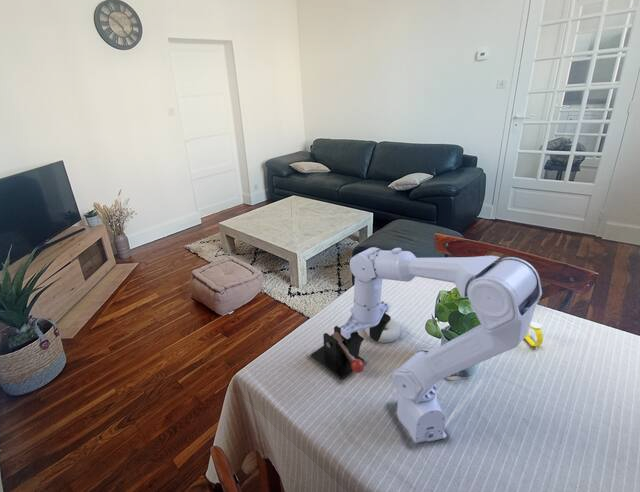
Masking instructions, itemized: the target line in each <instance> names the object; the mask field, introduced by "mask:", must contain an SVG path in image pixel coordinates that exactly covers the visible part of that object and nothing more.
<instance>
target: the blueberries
mask: <svg viewBox="0 0 640 492" xmlns="http://www.w3.org/2000/svg"><path fill="white" fill-rule="evenodd" d="M459 376H460V371H459V372H457V373H455V374H452V375H450V376H448V377H445V378H444V379H445V380H446V381H448V382H450V381H457V380H459V378H458V377H459Z"/></svg>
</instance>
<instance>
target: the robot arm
mask: <svg viewBox="0 0 640 492" xmlns="http://www.w3.org/2000/svg"><path fill="white" fill-rule="evenodd" d="M500 258H501V257H500V256H497V255H481V256H467V257H466V256H465V257H464V256H463V257H460V256H458V257H457V256H453V257H446V256H445V257H417V256H416V255H415V254H414V253H413V252H411V251H410V250H409V251H408V250H403V249H402V248H401V247H395V248H393V249H391V250H383V249H381V248H378V247H376V246H374V247H369V248H367V249H365V250H363V251H361V252H359V253H357V254H355V255H354V256H352V257H351V258H350V260H349V269H350V271H351V273H352V276H354V288H353V306H352V307H350V309H349V311H350V313H351V314H350V316H349V317H348V319H347V321H346V322H345V324H343V325H341V326H339V328H340V333H341V335H342V336H343V338H344V339H345V341H346V344H347V347H348V350H349V354H351V355H352V356H353V357H355V358H357V357H358V356H359V355H360V350H361V346H362V344H363V342H364V340H365V337H363V336H362V335H360V333H359V331H363V330H365V329H367V328H369V333H370V337H369V338H370V339H371V338H372V339H371V340H373V341H374V342H376V343H379V342H378V341H379V339H380V337H381V334H382V332H383V330H385V329H386V328H385V326H386V325H387V323H388V322H389V321H390V320H391V319H392V317H391V315H390V314H387V313H388V312H389V311H390V303H388V302H386V301H384V300H381V299H382V290H383V289H382V288H383V280H389V281H398V282H406V283H408V282H412V281H413V280H414V279H415V278H416V277H417V278H422V279H423V278H424V279H427V280H428V279H429V280H435V281H440V282H441V281H442V282H447V283H453V284H454V285H455V287H456V289H457V291H458V294H459V295H460V297H461V298H463V299H465V298H468V301H469V304H470V305H471V307H472V309H473V311H474V313H475V315H476V317H477V319H478V321H479V322H480V324H478V325H477V326H475V327H473V328H471V329H470V330H467V331H465V332H464V333H462V334H460V335H458V336H456V337H454V338H453V339H451V340H449V341H447V342H445V343H444V344H442V345H440V346H438V347H435V346H434V347H432V348H428V349H427V348H420V349H418V350H417V351H416V352H415V353H414V354H413V355H412V356H411V357H410V358H409V359H407V360H406V361H405V362H403V364H401V366H400V367H398V368H396V369H394V370H393V372H392V373H391V380H392V384H393V386H394V388H395V389H396V391H397V406H396V407H397V408H396V415H397V418H398V420H399V422H400V423H401V425H402V426H403V427H404V429H406V430H407V433H409V435H410V438H411V439H412V441H413V442H414V444H418V443H423V442H427V443H430V442H434V441H437V440H443V439H446V438H447V433H446V432H445V430H444V427H445V422H446V421H445V418H446V415H445V413H444V411H443V410H442V408H441V406H440V404H439V401H438V398H437V384H438V383H439V382H440V381H441V380H443V379H445V377H448V376H450V375H452V374H455V373H457V372H459V373H460V372H462V371H464V370H466V369H469V368H470V367H473V366H475V365H478V364H480V363H483V362H485V361H487V360H490V359H492V358H494V357H497V356H499V355H501V354H504V353H506V352H509V351H511V350H513V349H516V348H517V347H518V346H520V344H521V343H522V342H523V340H525V337H526V335H527V333H529V329H530V327H529V326H530V323H531V321H533V317H534V313H535V311H536V307H537V305H538V303H539V301H540V299H541V297H542V295H543V290H542V284H541V279H540V276H539V272H538V271H537V270H536V268H535V267H534V266H533V265H532V264H531V263H529V262H528V261H527V260H524V259H522V258H520V257H515V256H508V257H504V258H501V259H500Z"/></svg>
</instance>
